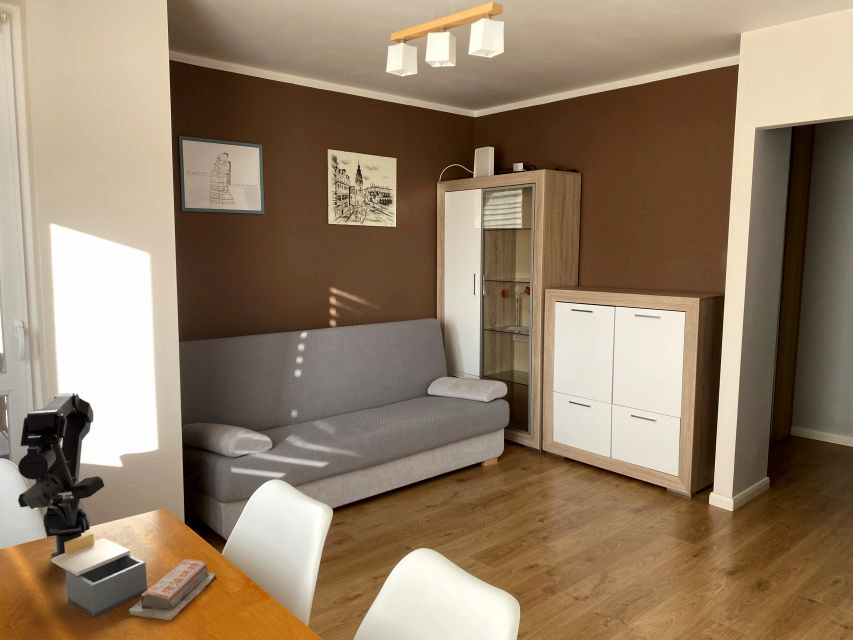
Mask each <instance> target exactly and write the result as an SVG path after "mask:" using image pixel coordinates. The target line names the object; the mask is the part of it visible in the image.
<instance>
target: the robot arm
mask: <svg viewBox="0 0 853 640" xmlns="http://www.w3.org/2000/svg"><path fill="white" fill-rule="evenodd" d="M93 421H94V411H93V408H92V406H91V404H90V403H89V402H88V401H86V400H84V399H82V398H81V397H80V396H79V394H78V393H74V392H67V393H58V394H55V395H54V397H53V400H51V401H50V402H49V403H48V404H47V405H46V406H45V407H43V408H39V409H33V410H30V411H29V412H28V413H27V414H26V416H25V417H24V419H23V425H22V432H21V438H20V439H21V440H20V447H27V449H26V454H25V455H24V456H23V457H22V458H21V459H20V460H19V462H18V465H17V468H18V472H19V474H20V475H21V476H22V477H23V478H25V479H28V480H32V481H33V480H35V483H34V484H33V485H31V486H30V488H28V489H27V490H25V491H23V492H22V493H20V494H19V495H18V496H19V497H18V499H17V501H18V504H19V507H20V508H25V507H29V509H30V510H34V509H38V508H40V509H43V508H46V512H45V513H44V515H43V527H44V531H45V533H46V538H50V537H55V546H56V547H55V549H56V551H55V552H53V553H51V554H50V556H51V558H54V557H56V556H59V555H61V554H64V553H65V545H64V542H67V541H70V540H72V539H75V538H78V537H80V536H83V534H85V533H86V532H87V531H89V530H90V529H91V527H90V526H91V525H90V520H89V519H90V516H89V515H88V513H87V512H86V510H85V508H84V504H83V502H82V501H81V499H86V498H87V499H88V498H90V497H92V496H93V495H94V494H95V493H97V492H99V491H100V490H102V488H104V487H105V484H104V480H103V478H102V477H100V476H91V477H86V478H83V479H82V480H81V481H79V479H80V470H81V468H80V467H81V460H82V459H81V457H82V448H83V440H84V439H85V437H87V435H88V434H89V433H90V430H91V424H92V423H93Z"/></svg>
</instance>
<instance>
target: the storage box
mask: <svg viewBox="0 0 853 640" xmlns="http://www.w3.org/2000/svg"><path fill="white" fill-rule="evenodd" d="M146 566H147V565H146V561H144V560H141V559H140V558H137V557H136V556H134V555H131V553H130V554H128V555H126V556H123V557H121V558H119V559H116V560H114V561H111V562H109V563H107V564H104V565H102V566H100V567H97V568H95V569H93V570H90V571H88V572H85V573H83V574H81V575H78V576H76V575H74V574H73V573H71V572H69V571H67V570H64V571H65V581H66V592H67V593H66V594H67V601H68V602H69V603H71V604H72V605H74V606H75V607H77V608H79V610H82V611H84V612H85V613H87V614H88V613H89V614H88V615H90V616H91V617H93V618H97V617H99V616H100V615H103V614H104V613H107V612H108V611H110V610H113V609H114V608H116V607H119V606H122V605H123V604H125V603H127V602H129V601H131V600H133V599H136V598H137V597H139V596H140V597H141V595H142V594H143V593H144V592H145V591H146V590H147V589H148V580H147V567H146Z"/></svg>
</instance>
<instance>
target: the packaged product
mask: <svg viewBox="0 0 853 640" xmlns="http://www.w3.org/2000/svg"><path fill="white" fill-rule="evenodd" d="M215 576H216V577H217V573H212V572H208V565H207V562H205V561H203V560H201V559H193V558H191V559H190V558H184V559H182V560H181V561H180V562H178V563H177V564H176V565H175V566H174V567H173V568H171V569H170V570H169V571H167V572H166V573H165V574H164V575H163V576H162V577H161V578H160V579H158V580H157V581H156V582H154V583H153V584H152V585H151V586H150V587H148V588H147V590H146V591H145V592H144V593H143V594H142V595H140V600H138V601H137V602H136V603H135V604H134V605H132V607H130V608H129V610H128V612H129V615H130V616H136V617H143V618H144V617H145V618H151V619H156V620H157V619H159V620H163V621H165V620H166V621H171V620H173V619H174V617H176V616H177V615H178V614H179V613H180V611H181V610H182V609H184V608H185V607H186V606H187V605H188V604H189V603H191V601H192V600H193V599H194V598H196V597H197V596H198V595H199V594H200V593H201V592H202V591H203V590H204V588H206V587H207V586H208V585H209V584H210V583H211V582H212V581H213V580H214V579H215V578H216V577H215ZM214 577H215V578H214ZM213 578H214V579H213ZM212 579H213V580H212ZM211 580H212V581H211ZM206 585H207V586H206ZM205 586H206V587H205Z"/></svg>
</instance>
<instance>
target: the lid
mask: <svg viewBox="0 0 853 640" xmlns="http://www.w3.org/2000/svg"><path fill="white" fill-rule="evenodd" d="M64 545H65V553H64V554H61V555H59V556H56V557H54V558H53V557H51V562H52V563H53V564H55V565H57V566H58V567H60V568H62V569H64V571H66V570H67V571H69V572H71V573H73V574H74V575H76V576H78V575H81V574H83V573H85V572H88V571H90V570H93V569H95V568H97V567H100V566H102V565H104V564H107V563H109V562H111V561H114V560H116V559H119V558H121V557H123V556H126V555H128V554H130V555H131V549H129V548H126V547H125V546H122V545H120V544H118V543H116V542H114V541H113V540H112V541H111V540H110V539H107V538H104V537H103V538H100V539H98V540H95V537H94V533H93V532H88V533H86V534H82V536H80V537H78V538H75V539H72V540H70V541H67V542H64Z"/></svg>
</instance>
